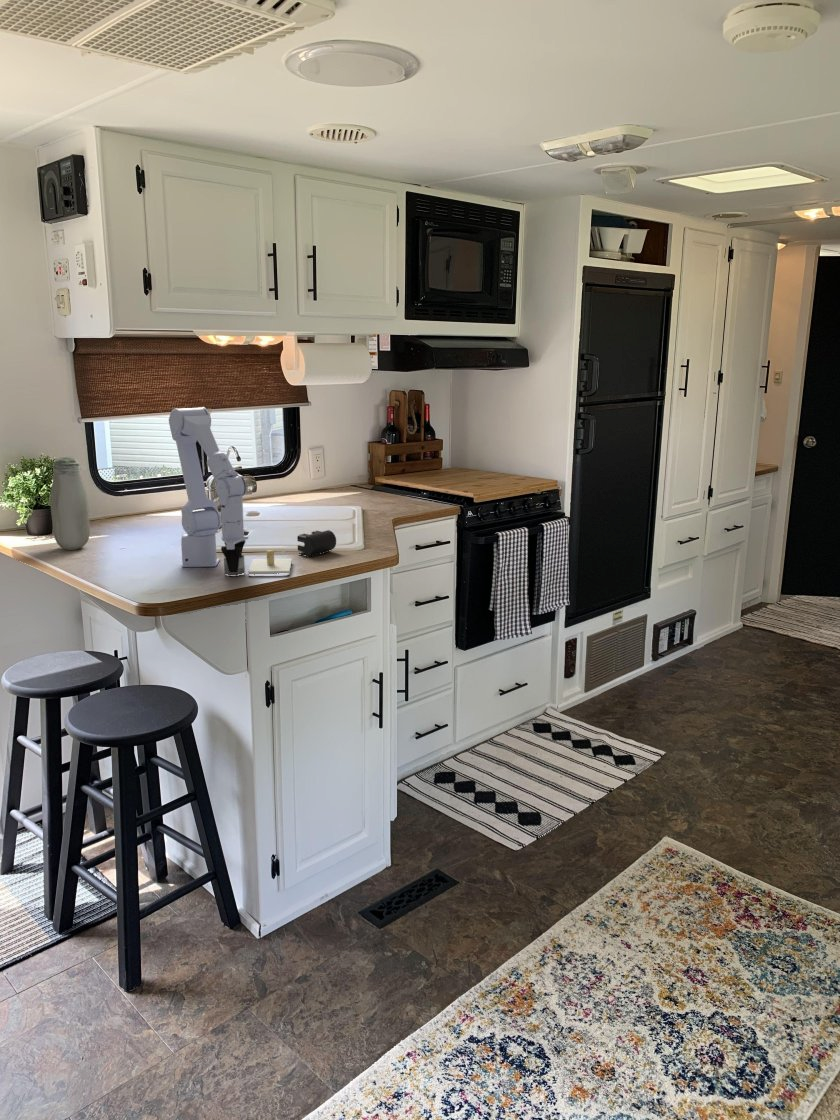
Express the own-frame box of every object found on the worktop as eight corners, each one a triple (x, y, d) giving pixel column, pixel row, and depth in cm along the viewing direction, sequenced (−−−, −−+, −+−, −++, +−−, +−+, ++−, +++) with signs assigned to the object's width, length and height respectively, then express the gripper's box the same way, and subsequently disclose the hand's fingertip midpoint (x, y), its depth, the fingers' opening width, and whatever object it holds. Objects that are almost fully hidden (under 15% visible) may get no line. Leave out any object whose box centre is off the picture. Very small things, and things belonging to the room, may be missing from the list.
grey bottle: (78, 553, 253) (70, 460, 247) (48, 551, 256) (39, 458, 249) (98, 546, 263) (90, 455, 256) (68, 544, 265) (60, 454, 258)
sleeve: (223, 576, 230) (223, 558, 229) (226, 571, 235) (225, 554, 234) (243, 576, 230) (242, 558, 229) (245, 571, 235) (244, 554, 234)
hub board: (248, 576, 230) (247, 557, 229) (253, 564, 244) (252, 545, 242) (289, 576, 231) (289, 556, 230) (291, 563, 245) (291, 544, 243)
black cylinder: (313, 559, 250) (313, 536, 248) (296, 555, 254) (296, 533, 253) (336, 553, 258) (336, 531, 256) (320, 549, 262) (319, 528, 260)
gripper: (244, 525, 222) (246, 575, 226) (250, 515, 236) (251, 562, 240) (217, 526, 222) (219, 576, 225) (224, 515, 236) (226, 562, 239)
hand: (234, 569), depth 232 cm, fingers closed on sleeve, 5 cm apart
